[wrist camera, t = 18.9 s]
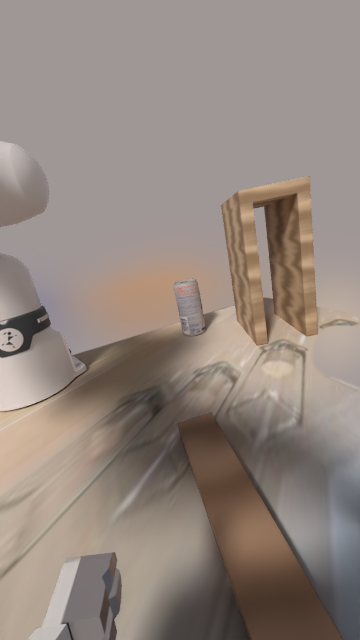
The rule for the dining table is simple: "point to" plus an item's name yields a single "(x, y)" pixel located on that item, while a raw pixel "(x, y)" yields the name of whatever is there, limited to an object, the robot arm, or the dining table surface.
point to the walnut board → (252, 544)
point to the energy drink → (189, 307)
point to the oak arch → (273, 256)
